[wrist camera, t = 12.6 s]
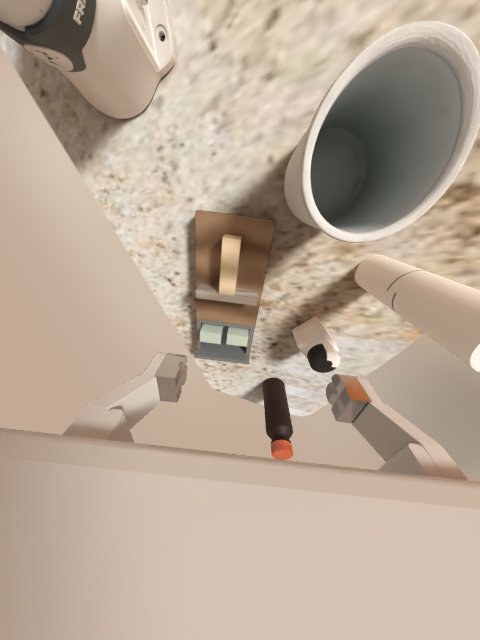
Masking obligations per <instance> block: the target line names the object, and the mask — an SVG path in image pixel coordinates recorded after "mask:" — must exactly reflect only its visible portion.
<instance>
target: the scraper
mask: <svg viewBox="0 0 480 640" xmlns="http://www.w3.org/2000/svg"><path fill="white" fill-rule="evenodd" d="M241 239H242V236H234V235H227V234H225V235H224V236H223V237H222V253H221V269H220V285H219V286H217V285H209V284H202V283H200V285H199V286H198V288H197V289H196V291H195V292H196V298H200V299H208V300H216V301H224V302H231V303H239V304H247V305H255V306H256V305H257V300H258V296H257V291H255V290H248V289H240V288H236V283H237V274H238V265H239V256H240V248H241Z"/></svg>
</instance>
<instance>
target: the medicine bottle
mask: <svg viewBox="0 0 480 640" xmlns="http://www.w3.org/2000/svg"><path fill="white" fill-rule="evenodd" d="M292 332H293V335H294V338H295V341H296V344H297V347H298V348H299V349H300V351H301V352H302V353H303V354H304V355H305V357H306V358H307V359H308V361H309V363H310V366H311V368H312V369H313V370H315V371H317V372H321V373H325V372H330V371H332V370H334V369H335V368H336V367H337V366H338V365H339V363H340V357H339V355H338V353H337V352H339V351H340V350H339V348H338V347H337V345H336V343H335V342H334V340H333V339H332V337H331V335H330V334H329V332H328V331H327V329H326V328H325V327H324V325H323V324H322V323H321V321H320V320H319V318H318V317H317V316H314V317H313V318H311V319H309V320H308V321H306V322H304V323H302V324H301V325H299V326H297V327H296V328H294V329H292Z"/></svg>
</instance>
